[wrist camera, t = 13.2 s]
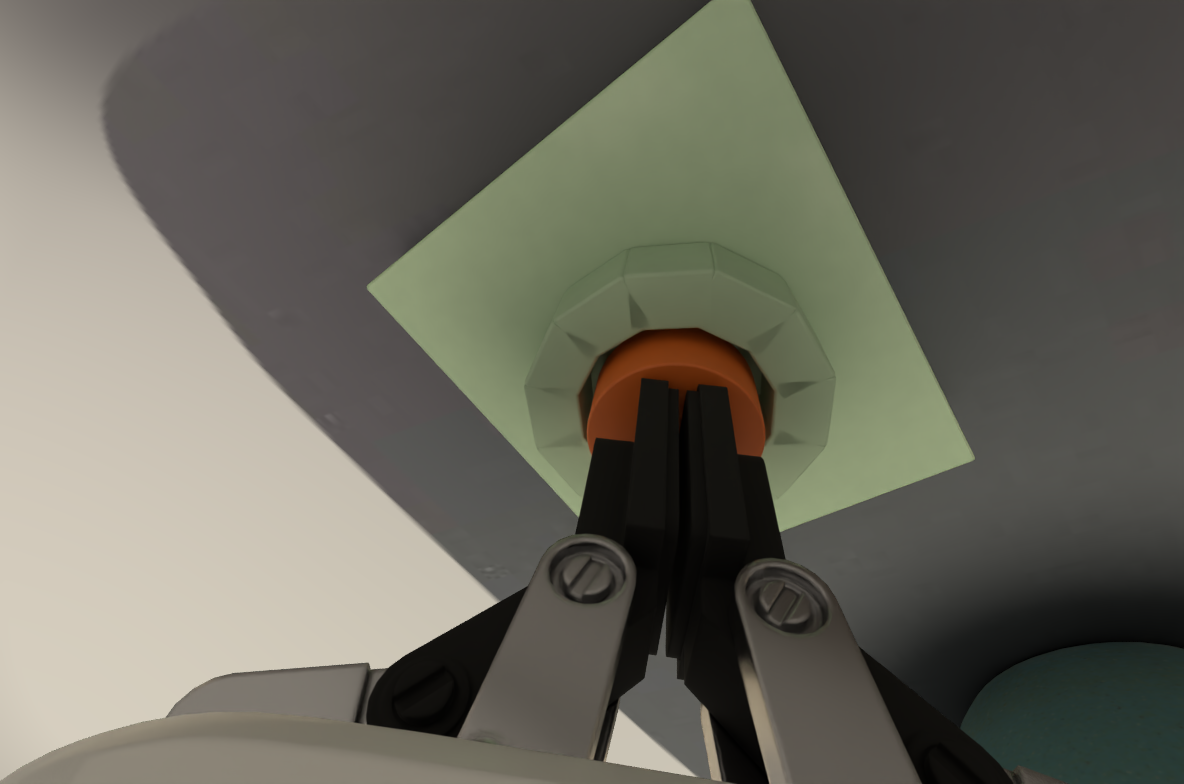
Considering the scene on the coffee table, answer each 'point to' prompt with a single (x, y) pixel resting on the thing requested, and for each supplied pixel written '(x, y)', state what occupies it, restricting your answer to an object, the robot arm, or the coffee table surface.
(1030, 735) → the plant pot
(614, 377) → the button
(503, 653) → the robot arm
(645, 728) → the coffee table surface
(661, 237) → the button block
